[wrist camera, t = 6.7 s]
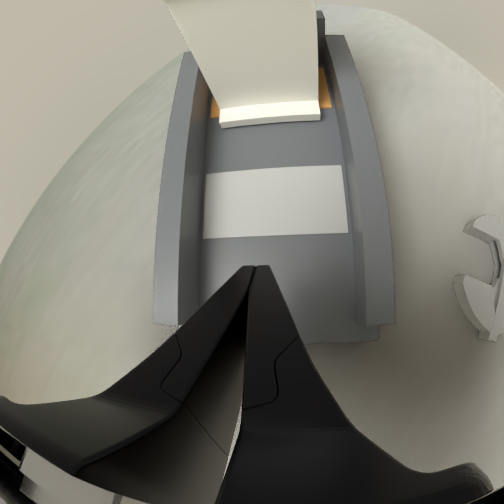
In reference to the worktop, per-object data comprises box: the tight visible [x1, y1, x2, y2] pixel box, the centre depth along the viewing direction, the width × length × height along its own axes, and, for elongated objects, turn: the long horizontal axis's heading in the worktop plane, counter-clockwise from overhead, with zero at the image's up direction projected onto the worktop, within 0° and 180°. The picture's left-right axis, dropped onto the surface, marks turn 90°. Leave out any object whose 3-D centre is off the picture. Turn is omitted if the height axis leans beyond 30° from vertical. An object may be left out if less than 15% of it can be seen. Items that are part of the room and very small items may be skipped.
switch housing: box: [153, 11, 395, 344], centre depth 13 cm, size 18×10×6 cm, turn 0°
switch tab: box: [164, 0, 320, 128], centre depth 10 cm, size 5×6×10 cm
